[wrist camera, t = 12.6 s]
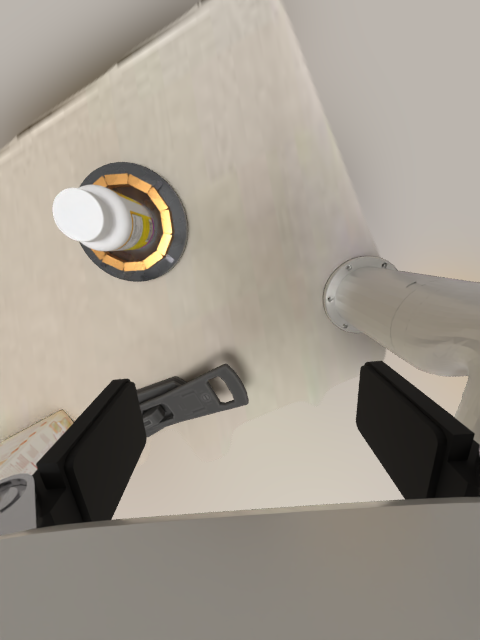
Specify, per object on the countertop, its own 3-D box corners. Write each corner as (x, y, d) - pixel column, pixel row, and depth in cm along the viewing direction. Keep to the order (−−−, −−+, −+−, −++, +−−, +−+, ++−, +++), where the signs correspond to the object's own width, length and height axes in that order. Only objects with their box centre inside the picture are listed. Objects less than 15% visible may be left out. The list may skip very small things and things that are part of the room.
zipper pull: (254, 406, 38) (123, 464, 41) (251, 383, 44) (138, 434, 47) (228, 360, 36) (90, 425, 39) (229, 343, 42) (111, 400, 45)
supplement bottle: (100, 214, 34) (24, 196, 22) (139, 191, 33) (83, 159, 21) (127, 257, 36) (71, 264, 23) (165, 236, 35) (128, 231, 23)
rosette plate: (180, 161, 34) (174, 153, 31) (194, 276, 38) (190, 279, 35) (66, 169, 34) (50, 162, 31) (94, 283, 38) (83, 286, 35)
